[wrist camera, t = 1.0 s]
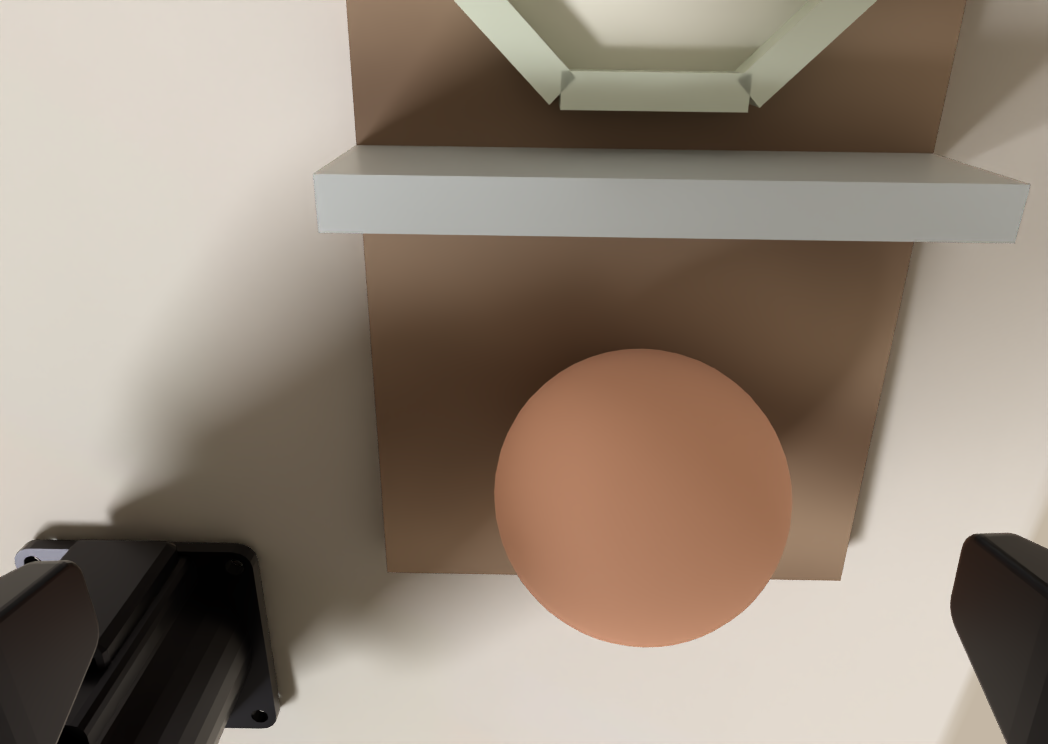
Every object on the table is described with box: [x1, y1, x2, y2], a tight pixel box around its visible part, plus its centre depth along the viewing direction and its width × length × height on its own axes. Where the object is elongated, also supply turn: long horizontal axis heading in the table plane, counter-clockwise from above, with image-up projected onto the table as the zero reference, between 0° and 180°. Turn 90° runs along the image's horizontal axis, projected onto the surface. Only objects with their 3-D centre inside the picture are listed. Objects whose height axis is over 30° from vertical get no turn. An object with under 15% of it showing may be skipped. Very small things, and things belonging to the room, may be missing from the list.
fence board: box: [313, 0, 1030, 581], centre depth 15 cm, size 22×12×4 cm, turn 179°
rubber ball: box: [494, 349, 792, 647], centre depth 16 cm, size 6×6×6 cm
